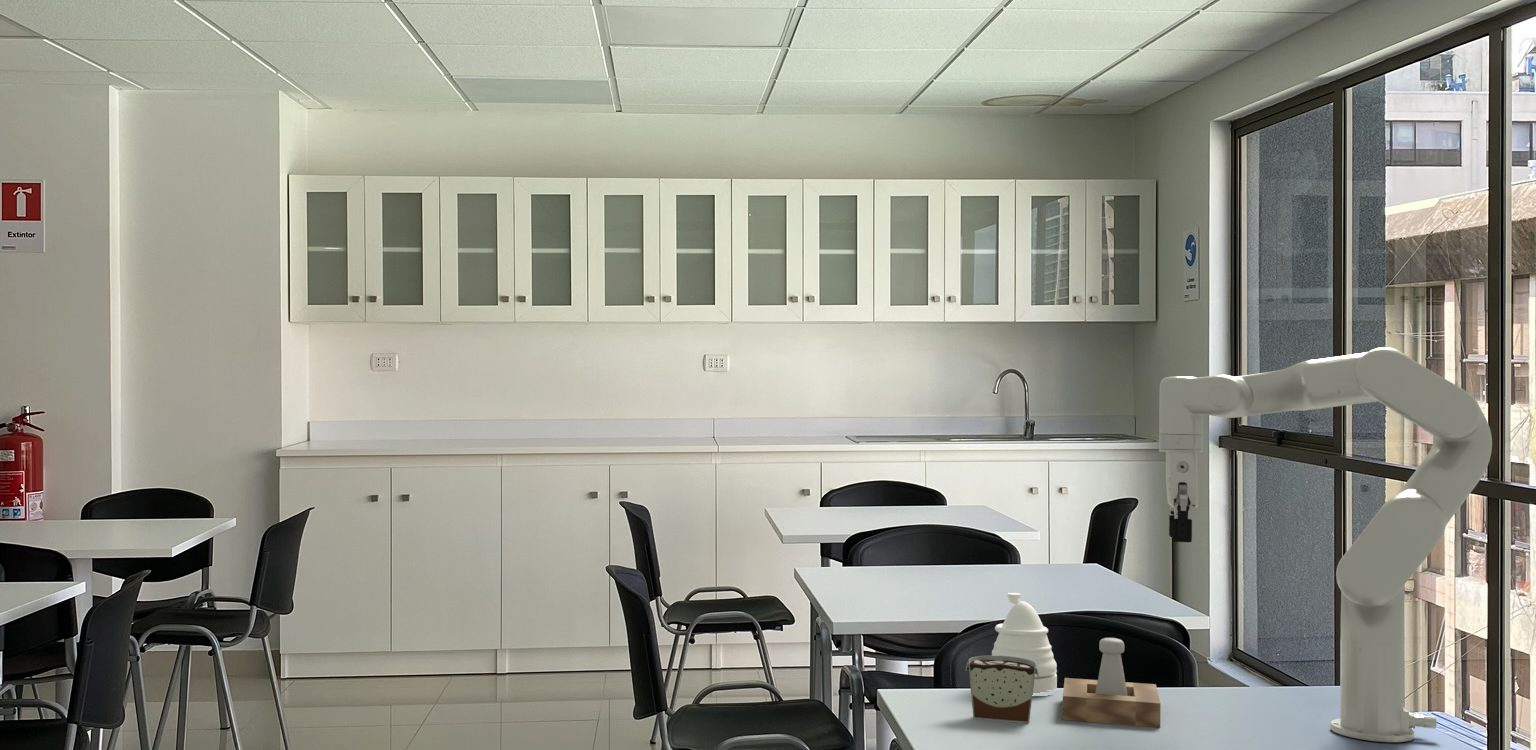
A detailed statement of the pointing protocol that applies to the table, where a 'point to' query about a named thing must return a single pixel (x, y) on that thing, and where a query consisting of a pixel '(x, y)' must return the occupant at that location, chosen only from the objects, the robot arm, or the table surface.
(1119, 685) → the salt shaker
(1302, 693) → the table surface
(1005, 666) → the food container
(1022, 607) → the honey pot
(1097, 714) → the brown wooden square frame
